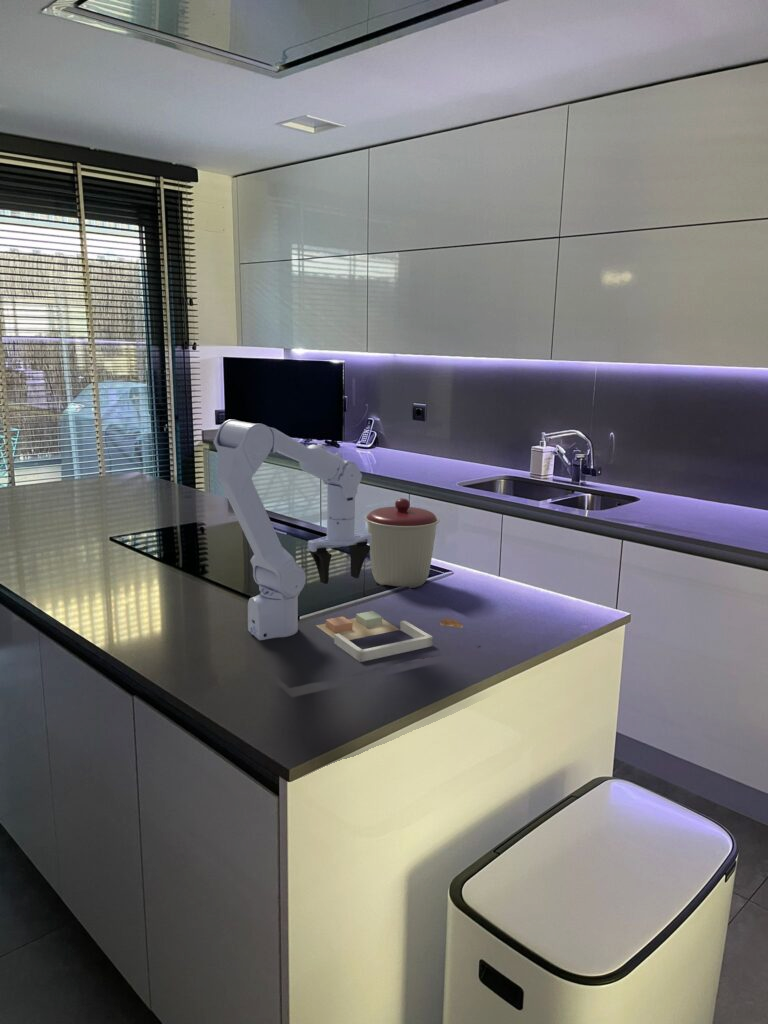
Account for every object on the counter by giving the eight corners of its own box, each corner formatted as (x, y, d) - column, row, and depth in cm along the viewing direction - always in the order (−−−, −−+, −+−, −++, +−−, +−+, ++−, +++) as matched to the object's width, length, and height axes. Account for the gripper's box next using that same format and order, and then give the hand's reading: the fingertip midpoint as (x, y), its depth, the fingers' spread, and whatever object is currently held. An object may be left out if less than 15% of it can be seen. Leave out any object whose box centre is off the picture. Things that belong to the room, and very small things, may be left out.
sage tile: (365, 627, 157) (365, 620, 157) (355, 620, 160) (355, 614, 160) (382, 623, 159) (382, 616, 159) (372, 617, 163) (372, 610, 162)
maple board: (338, 647, 149) (338, 642, 149) (315, 631, 158) (315, 625, 157) (400, 635, 156) (400, 629, 156) (374, 619, 165) (374, 614, 165)
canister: (443, 576, 196) (447, 494, 192) (428, 598, 179) (431, 509, 175) (375, 569, 201) (376, 489, 196) (353, 590, 184) (355, 503, 179)
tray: (359, 668, 140) (360, 652, 140) (334, 648, 149) (334, 634, 148) (432, 651, 149) (433, 636, 148) (404, 634, 157) (404, 620, 156)
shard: (440, 614, 170) (440, 607, 170) (474, 618, 168) (475, 611, 168) (430, 631, 160) (430, 623, 160) (466, 636, 158) (467, 628, 158)
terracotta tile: (334, 633, 154) (334, 625, 153) (325, 626, 157) (325, 619, 157) (352, 629, 156) (352, 622, 155) (343, 623, 159) (343, 616, 159)
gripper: (320, 524, 153) (319, 590, 156) (380, 517, 162) (378, 579, 165) (302, 517, 159) (302, 581, 162) (361, 510, 167) (360, 571, 170)
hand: (339, 579), depth 164 cm, fingers open, 7 cm apart
